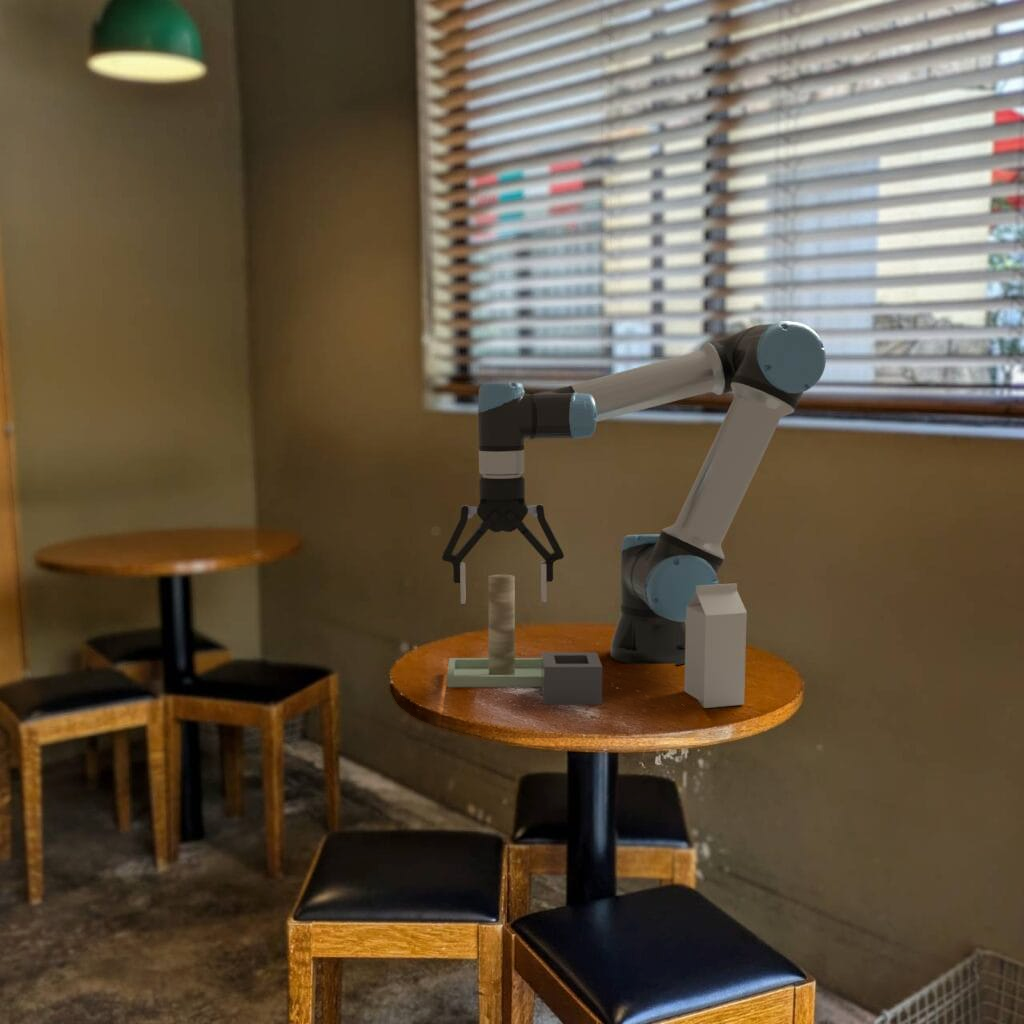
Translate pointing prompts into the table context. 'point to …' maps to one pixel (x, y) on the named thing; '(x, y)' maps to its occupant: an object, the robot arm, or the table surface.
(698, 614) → the milk carton
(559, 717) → the table surface
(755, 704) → the table surface
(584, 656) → the square block with hole
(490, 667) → the dowel
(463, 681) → the tray
